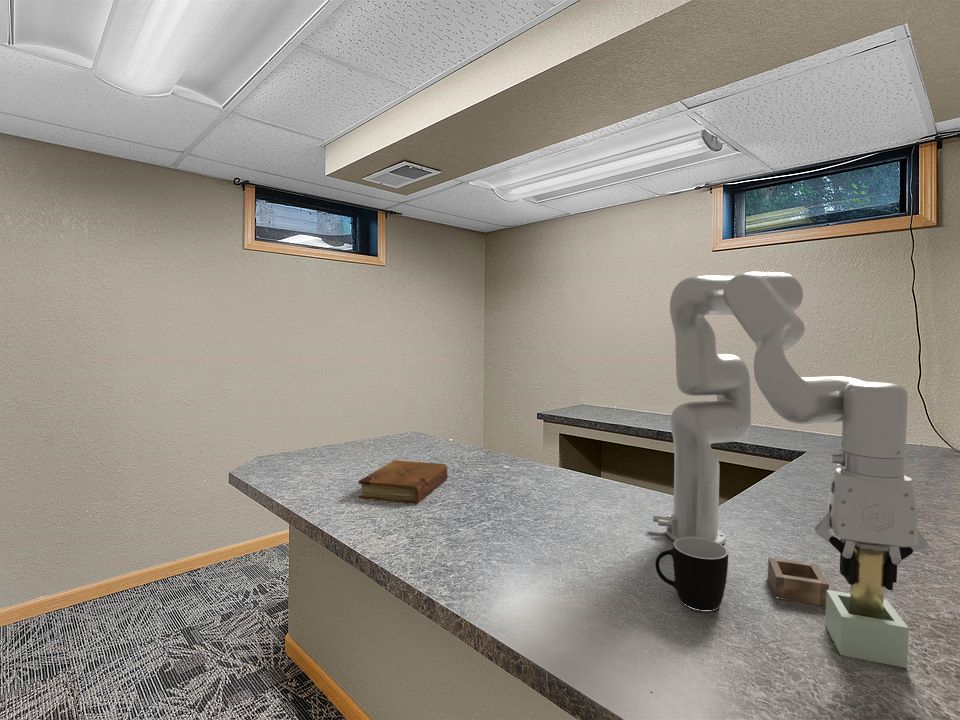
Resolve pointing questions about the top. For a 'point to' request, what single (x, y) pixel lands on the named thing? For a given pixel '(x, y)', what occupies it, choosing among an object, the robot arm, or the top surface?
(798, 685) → the top surface
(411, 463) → the diary
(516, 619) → the top surface
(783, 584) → the mount
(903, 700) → the top surface
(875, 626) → the socket
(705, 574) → the mug
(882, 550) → the pin
